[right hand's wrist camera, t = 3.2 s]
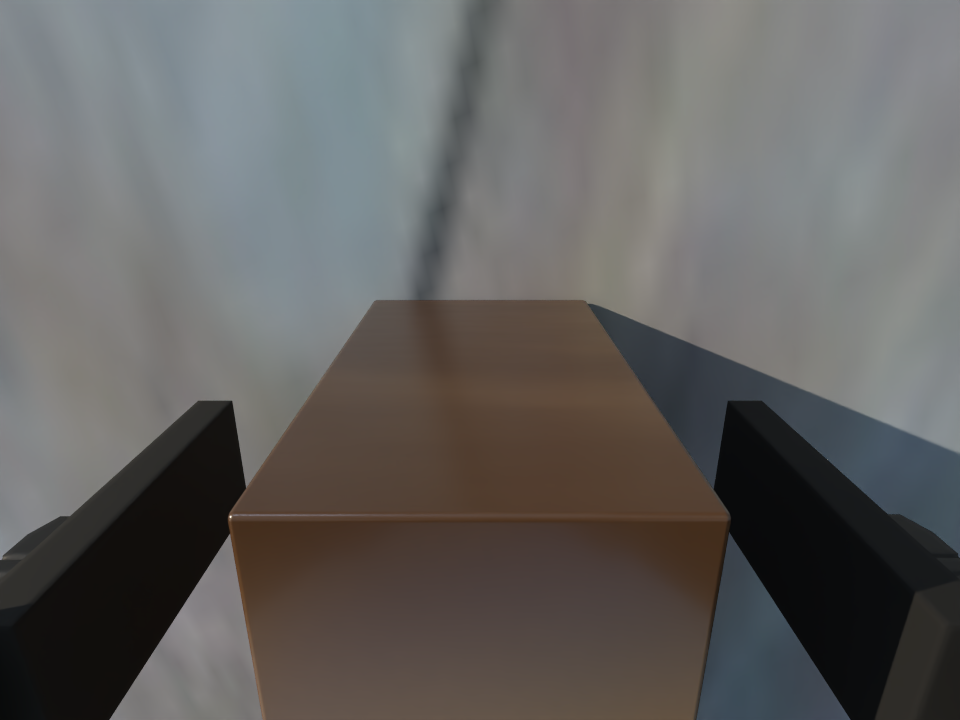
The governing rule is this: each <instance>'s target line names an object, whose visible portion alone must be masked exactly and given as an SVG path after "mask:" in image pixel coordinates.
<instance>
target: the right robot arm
mask: <svg viewBox="0 0 960 720" xmlns="http://www.w3.org/2000/svg"><path fill="white" fill-rule="evenodd" d="M245 489H246V485H245V479H244V472H243V466H242V460H241V454H240V447H239V441H238V435H237V428H236V422H235V416H234V409H233V403H232V401H198V402H197V403H195V404H194V405H193V406H192V407H191V408H190V409H189V410H188V411H187V412H185V413H184V414H183V415H182V416H181V417H180V418H179V419H178V420H177V421H175V422H174V423H173V424H172V425H171V426H170V427H169V428H168V429H167V430H165V431H164V432H163V433H162V434H161V435H160V436H159V437H158V438H157V439H155V440H154V441H153V442H152V443H151V444H150V445H149V446H148V447H147V448H145V449H144V450H143V451H142V452H141V453H140V454H139V455H138V456H137V457H135V458H134V459H133V460H132V461H131V462H130V463H129V464H128V465H127V466H125V467H124V468H123V469H122V470H121V471H120V472H119V473H118V474H117V475H115V476H114V477H113V478H112V479H111V480H110V481H109V482H108V483H107V484H105V485H104V486H103V487H102V488H101V489H100V490H99V491H98V492H97V493H95V494H94V495H93V496H92V497H91V498H90V499H89V500H88V501H87V502H85V503H84V504H83V505H82V506H81V507H80V508H79V509H78V510H77V511H75V512H74V513H73V514H72V515H71V516H60V517H58V518H57V519H55V520H53V521H51V522H49V523H48V524H46V525H44V526H42V527H40V528H39V529H37V530H35V531H33V532H31V533H30V534H28V535H27V536H25V537H24V538H23V539H22V540H21V541H20V542H18V543H17V544H16V545H15V546H14V547H13V548H11V549H10V550H9V551H8V552H7V553H6V554H4V555H3V559H2V560H0V720H109V719H110V718H111V716H112V715H113V713H114V712H115V710H116V709H117V707H118V705H119V704H120V702H121V701H122V699H123V698H124V696H125V695H126V693H127V692H128V690H129V688H130V687H131V685H132V684H133V682H134V681H135V679H136V678H137V676H138V675H139V673H140V671H141V670H142V668H143V667H144V665H145V664H146V662H147V661H148V659H149V658H150V656H151V654H152V653H153V651H154V650H155V648H156V647H157V645H158V644H159V642H160V641H161V639H162V638H163V636H164V634H165V633H166V631H167V630H168V628H169V627H170V625H171V624H172V622H173V621H174V619H175V617H176V616H177V614H178V613H179V611H180V610H181V608H182V607H183V605H184V604H185V602H186V600H187V599H188V597H189V596H190V594H191V593H192V591H193V590H194V588H195V587H196V585H197V583H198V582H199V580H200V579H201V577H202V576H203V574H204V573H205V571H206V570H207V568H208V566H209V565H210V563H211V562H212V560H213V559H214V557H215V556H216V554H217V553H218V551H219V549H220V548H221V546H222V545H223V543H224V542H225V540H226V539H227V537H228V536H229V534H230V529H229V524H228V516H229V513H230V511H231V510H232V508H233V507H234V505H235V504H236V503H237V501H238V500H239V498H240V497H241V495H242V494H243V492H244V491H245ZM714 491H715V493H716V494H717V495H718V497H719V498H720V500H721V501H722V503H723V504H724V506H725V507H726V509H727V510H728V512H729V513H730V516H731V524H730V529H729V532H730V534H731V536H732V537H733V539H734V540H735V542H736V543H737V545H738V546H739V548H740V549H741V551H742V553H743V554H744V556H745V557H746V559H747V560H748V562H749V563H750V565H751V566H752V568H753V570H754V571H755V573H756V574H757V576H758V577H759V579H760V580H761V582H762V583H763V585H764V587H765V588H766V590H767V591H768V593H769V594H770V596H771V597H772V599H773V600H774V602H775V604H776V605H777V607H778V608H779V610H780V611H781V613H782V614H783V616H784V617H785V619H786V621H787V622H788V624H789V625H790V627H791V628H792V630H793V631H794V633H795V634H796V636H797V637H798V639H799V641H800V642H801V644H802V645H803V647H804V648H805V650H806V651H807V653H808V654H809V656H810V658H811V659H812V661H813V662H814V664H815V665H816V667H817V668H818V670H819V671H820V673H821V675H822V676H823V678H824V679H825V681H826V682H827V684H828V685H829V687H830V688H831V690H832V692H833V693H834V695H835V696H836V698H837V699H838V701H839V702H840V704H841V705H842V707H843V709H844V710H845V712H846V713H847V715H848V716H849V718H850V719H851V720H960V558H959V557H958V553H957V552H955V551H954V550H953V549H952V548H951V547H949V546H948V545H947V544H946V543H945V542H944V541H942V540H941V539H940V538H939V537H938V536H937V535H935V534H934V533H933V532H931V531H929V530H928V529H926V528H924V527H922V526H920V525H918V524H917V523H915V522H913V521H911V520H909V519H908V518H906V517H904V516H902V515H900V514H887V513H886V512H885V511H883V510H882V509H881V508H880V507H879V506H878V505H877V504H876V503H875V502H873V501H872V500H871V499H870V498H869V497H868V496H867V495H866V494H865V493H863V492H862V491H861V490H860V489H859V488H858V487H857V486H856V485H855V484H853V483H852V482H851V481H850V480H849V479H848V478H847V477H846V476H845V475H843V474H842V473H841V472H840V471H839V470H838V469H837V468H836V467H835V466H833V465H832V464H831V463H830V462H829V461H828V460H827V459H826V458H825V457H823V456H822V455H821V454H820V453H819V452H818V451H817V450H816V449H815V448H813V447H812V446H811V445H810V444H809V443H808V442H807V441H806V440H805V439H803V438H802V437H801V436H800V435H799V434H798V433H797V432H796V431H795V430H793V429H792V428H791V427H790V426H789V425H788V424H787V423H786V422H785V421H783V420H782V419H781V418H780V417H779V416H778V415H777V414H776V413H775V412H773V411H772V410H771V409H770V408H769V407H768V406H767V405H766V404H765V403H763V402H762V401H728V403H727V410H726V416H725V422H724V428H723V435H722V441H721V447H720V454H719V460H718V466H717V473H716V479H715V485H714Z"/></svg>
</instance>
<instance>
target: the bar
mask: <svg viewBox="0 0 960 720" xmlns="http://www.w3.org/2000/svg"><path fill="white" fill-rule="evenodd" d="M228 524H229V529H230V535H231V541H232V547H233V552H234V558H235V564H236V569H237V575H238V581H239V586H240V592H241V598H242V604H243V609H244V615H245V621H246V626H247V632H248V638H249V643H250V649H251V655H252V660H253V666H254V672H255V678H256V683H257V689H258V695H259V700H260V706H261V712H262V717H263V720H696V718H697V712H698V707H699V701H700V695H701V689H702V684H703V678H704V672H705V667H706V661H707V655H708V649H709V644H710V638H711V632H712V627H713V621H714V615H715V609H716V604H717V598H718V592H719V586H720V581H721V575H722V569H723V564H724V558H725V552H726V546H727V541H728V535H729V529H730V524H731V516H730V513H729V512H728V510H727V509H726V507H725V506H724V504H723V503H722V501H721V500H720V498H719V497H718V495H717V494H716V493H715V491H714V490H713V488H712V487H711V485H710V484H709V482H708V481H707V479H706V478H705V476H704V475H703V473H702V472H701V470H700V469H699V467H698V466H697V465H696V463H695V462H694V460H693V459H692V457H691V456H690V454H689V453H688V451H687V450H686V448H685V447H684V445H683V444H682V442H681V441H680V439H679V438H678V437H677V435H676V434H675V432H674V431H673V429H672V428H671V426H670V425H669V423H668V422H667V420H666V419H665V417H664V416H663V414H662V413H661V411H660V410H659V409H658V407H657V406H656V404H655V403H654V401H653V400H652V398H651V397H650V395H649V394H648V392H647V391H646V389H645V388H644V386H643V385H642V384H641V382H640V381H639V379H638V378H637V376H636V375H635V373H634V372H633V370H632V369H631V367H630V366H629V364H628V363H627V361H626V360H625V358H624V357H623V356H622V354H621V353H620V351H619V350H618V348H617V347H616V345H615V344H614V342H613V341H612V339H611V338H610V336H609V335H608V333H607V332H606V330H605V329H604V328H603V326H602V325H601V323H600V322H599V320H598V319H597V317H596V316H595V314H594V313H593V311H592V310H591V308H590V307H589V305H588V304H587V302H586V301H584V300H376V301H374V303H373V304H372V306H371V307H370V308H369V310H368V311H367V313H366V314H365V316H364V317H363V319H362V320H361V322H360V323H359V325H358V326H357V327H356V329H355V330H354V332H353V333H352V335H351V336H350V338H349V339H348V341H347V342H346V343H345V345H344V346H343V348H342V349H341V351H340V352H339V354H338V355H337V357H336V358H335V360H334V361H333V362H332V364H331V365H330V367H329V368H328V370H327V371H326V373H325V374H324V376H323V377H322V379H321V380H320V381H319V383H318V384H317V386H316V387H315V389H314V390H313V392H312V393H311V395H310V396H309V397H308V399H307V400H306V402H305V403H304V405H303V406H302V408H301V409H300V411H299V412H298V414H297V415H296V416H295V418H294V419H293V421H292V422H291V424H290V425H289V427H288V428H287V430H286V431H285V433H284V434H283V435H282V437H281V438H280V440H279V441H278V443H277V444H276V446H275V447H274V449H273V450H272V451H271V453H270V454H269V456H268V457H267V459H266V460H265V462H264V463H263V465H262V466H261V468H260V469H259V470H258V472H257V473H256V475H255V476H254V478H253V479H252V481H251V482H250V484H249V485H248V487H247V488H246V489H245V491H244V492H243V494H242V495H241V497H240V498H239V500H238V501H237V503H236V504H235V505H234V507H233V508H232V510H231V511H230V513H229V516H228Z"/></svg>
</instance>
